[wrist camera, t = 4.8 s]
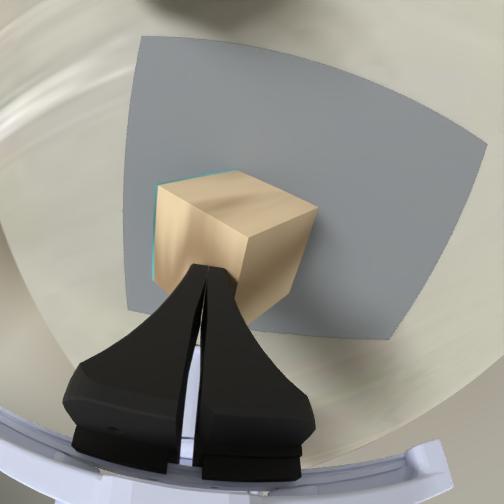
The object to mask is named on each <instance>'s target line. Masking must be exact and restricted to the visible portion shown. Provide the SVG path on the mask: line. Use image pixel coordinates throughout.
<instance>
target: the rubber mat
mask: <svg viewBox="0 0 504 504" xmlns="http://www.w3.org/2000/svg"><path fill="white" fill-rule="evenodd" d="M486 147H487V143H485V142H484V141H482V140H481V139H479V138H478V137H476V136H475V135H473V134H472V133H470V132H469V131H467V130H466V129H464V128H462V127H461V126H459V125H458V124H456V123H454V122H453V121H451V120H449V119H448V118H446V117H444V116H442V115H440V114H439V113H437V112H435V111H433V110H431V109H430V108H428V107H426V106H424V105H422V104H420V103H418V102H416V101H414V100H412V99H410V98H408V97H406V96H404V95H402V94H399V93H397V92H395V91H393V90H391V89H388V88H386V87H384V86H381V85H379V84H377V83H374V82H372V81H369V80H367V79H364V78H362V77H359V76H356V75H354V74H351V73H348V72H345V71H342V70H340V69H337V68H334V67H331V66H327V65H324V64H321V63H318V62H314V61H311V60H307V59H304V58H300V57H296V56H293V55H289V54H285V53H280V52H276V51H272V50H267V49H262V48H257V47H252V46H247V45H241V44H235V43H228V42H221V41H213V40H204V39H194V38H181V37H161V36H142V37H141V42H140V47H139V52H138V57H137V62H136V68H135V74H134V80H133V86H132V93H131V100H130V108H129V117H128V126H127V137H126V149H125V165H124V188H123V243H124V267H125V283H126V295H127V306H128V310H130V311H135V312H140V313H145V314H151V315H152V314H153V313H154V312H155V311H156V310H157V309H158V308H159V307H160V306H161V304H162V303H163V302H164V301H165V300H166V299H167V298H168V297H169V295H168V294H167V293H166V292H165V291H164V290H163V289H162V288H160V287H159V286H158V285H157V284H156V283H155V282H154V281H153V280H152V243H153V218H154V200H155V186H156V184H158V183H163V182H168V181H173V180H178V179H183V178H188V177H193V176H199V175H205V174H210V173H216V172H223V171H229V170H238V171H240V172H243V173H245V174H247V175H250V176H252V177H254V178H256V179H259V180H261V181H263V182H265V183H268V184H270V185H272V186H274V187H277V188H279V189H281V190H283V191H285V192H287V193H290V194H292V195H294V196H296V197H298V198H300V199H302V200H304V201H306V202H309V203H311V204H313V205H315V206H317V207H319V208H318V211H317V214H316V217H315V220H314V223H313V226H312V229H311V232H310V235H309V238H308V241H307V244H306V247H305V250H304V252H303V255H302V258H301V261H300V264H299V267H298V270H297V272H296V275H295V278H294V281H293V283H292V286H291V289H290V292H289V294H287V295H286V296H285V297H284V298H282V299H281V300H280V301H278V302H277V303H276V304H275V305H273V306H272V307H271V308H269V309H268V310H267V311H266V312H264V313H263V314H262V315H260V316H259V317H258V318H256V319H255V320H254V321H252V322H251V323H250V324H248V325H247V326H248V328H249V330H255V331H264V332H273V333H283V334H294V335H305V336H318V337H332V338H349V339H372V340H389V339H390V337H391V336H392V335H393V333H394V332H395V330H396V329H397V327H398V326H399V324H400V323H401V321H402V320H403V318H404V317H405V315H406V314H407V312H408V311H409V309H410V308H411V306H412V305H413V303H414V301H415V300H416V298H417V297H418V295H419V293H420V292H421V290H422V288H423V287H424V285H425V283H426V281H427V280H428V278H429V276H430V274H431V273H432V271H433V269H434V267H435V266H436V264H437V262H438V260H439V258H440V256H441V254H442V252H443V251H444V249H445V247H446V245H447V243H448V241H449V239H450V237H451V235H452V232H453V230H454V228H455V226H456V224H457V222H458V220H459V217H460V215H461V213H462V211H463V208H464V206H465V204H466V201H467V199H468V197H469V194H470V192H471V189H472V187H473V184H474V181H475V179H476V176H477V173H478V171H479V168H480V165H481V162H482V159H483V156H484V153H485V150H486Z"/></svg>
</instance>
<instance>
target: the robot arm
mask: <svg viewBox="0 0 504 504" xmlns="http://www.w3.org/2000/svg"><path fill="white" fill-rule="evenodd" d="M208 267H209V270H208ZM207 274H208V276H207ZM206 281H207V283H206ZM205 288H206V290H205ZM204 295H205V297H204ZM203 303H204V304H203ZM202 310H203V312H202ZM201 317H202V320H201ZM200 324H201V336H200V346H195V345H196V341H197V337H198V333H199V329H200ZM63 405H64V408H65V409H66V411H67V413H68V414H69V415H70V417H71V418H72V420H73V421H74V422H75V424H76V425H77V426H76V429H75V433H74V436H73V438H71V437H68V436H66V435H63V434H60V433H57V432H55V431H53V430H50V429H48V428H46V427H43V426H41V425H39V424H36V423H34V422H32V421H30V420H28V419H25V418H23V417H21V416H19V415H17V414H15V413H13V412H11V411H9V410H7V409H6V408H4V407H2V406H0V471H2V472H3V473H5V474H7V475H8V476H10V477H12V478H14V479H15V480H17V481H19V482H21V483H23V484H25V485H27V486H29V487H30V488H32V489H34V490H37V491H38V492H41V493H43V494H45V495H47V496H49V497H51V498H54V499H56V501H55V504H418V503H420V502H423V501H425V500H428V499H430V498H432V497H435V496H437V495H439V494H441V493H443V492H445V491H447V490H450V489H452V488H453V486H454V485H453V481H452V478H451V474H450V471H449V467H448V464H447V461H446V458H445V454H444V451H443V448H442V445H441V442H440V440H439V439H434V440H430V441H427V442H424V443H420V444H418V445H416V446H413V447H412V448H410V449H409V450H407V451H406V452H405V453H403V454H399V455H395V456H390V457H386V458H382V459H376V460H372V461H366V462H360V463H354V464H347V465H340V466H332V467H323V468H313V469H301V465H300V457H301V456H302V446H301V444H302V443H303V442H304V441H305V440H307V439H308V438H309V437H310V436H311V435H312V433H313V432H314V430H315V429H316V428H315V418H314V414H313V411H312V408H311V405H310V402H309V399H308V397H307V396H306V395H305V394H304V393H303V392H302V391H301V390H300V389H298V388H297V387H296V386H295V385H294V384H293V383H292V382H290V381H289V380H288V379H287V378H286V376H285V375H284V374H283V373H282V372H281V371H280V370H279V369H278V368H277V367H276V366H275V364H274V363H273V362H272V361H271V359H270V358H269V357H268V356H267V355H266V353H265V352H264V351H263V349H262V348H261V347H260V345H259V344H258V342H257V341H256V339H255V338H254V336H253V335H252V333H251V331H250V330H249V328H248V326H247V324H246V323H245V321H244V319H243V317H242V315H241V313H240V310H239V308H238V306H237V304H236V301H235V299H234V296H233V293H232V291H231V287H230V284H229V281H228V276H227V271H226V270H225V268H220V267H214V266H207V265H201V264H195V263H193V264H192V265H190V267H189V269H188V271H187V273H186V274H185V276H184V277H183V279H182V280H181V281H180V283H179V284H178V285H177V287H176V288H175V289H174V291H173V292H172V293H171V294H170V295H169V297H168V298H167V299H166V300H165V301H164V302H163V303H162V304H161V306H160V307H159V308H158V309H157V310H156V311H155V312H154V313H153V314H152V315H151V316H150V317H148V318H147V319H146V320H145V321H144V322H143V323H142V324H141V325H139V326H138V327H137V328H136V329H134V330H133V331H132V332H131V333H129V334H128V335H127V336H125V337H124V338H123V339H121V340H119V341H118V342H116V343H115V344H113V345H112V346H110V347H109V348H107V349H106V350H104V351H102V352H101V353H99V354H97V355H95V356H93V357H91V358H89V359H87V360H85V361H84V362H81V363H80V364H79V365H78V367H77V369H76V370H75V372H74V374H73V376H72V377H71V379H70V381H69V384H68V387H67V389H66V392H65V395H64V398H63ZM95 467H97V468H100V469H103V470H107V471H110V472H114V473H117V474H101V473H100V471H99V469H97V468H95ZM118 474H121V475H118ZM122 475H125V476H122ZM263 491H270V492H269V493H268V496H263Z"/></svg>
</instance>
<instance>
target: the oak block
mask: <svg viewBox="0 0 504 504" xmlns="http://www.w3.org/2000/svg"><path fill="white" fill-rule="evenodd" d="M318 208H319V207H317V206H315V205H313V204H311V203H309V202H306V201H304V200H302V199H300V198H298V197H296V196H294V195H292V194H290V193H287V192H285V191H283V190H281V189H279V188H277V187H274V186H272V185H270V184H268V183H265V182H263V181H261V180H259V179H256V178H254V177H252V176H250V175H247V174H245V173H243V172H240V171H238V170H229V171H223V172H216V173H210V174H205V175H199V176H193V177H188V178H183V179H178V180H173V181H168V182H163V183H158V184H156V186H155V200H154V218H153V243H152V280H153V281H154V282H155V283H156V284H157V285H158V286H159V287H160V288H162V289H163V290H164V291H165V292H166V293H167V294H168V295H170V294H171V293H172V292H173V291H174V289H175V288H176V287H177V285H178V284H179V283H180V281H181V280H182V279H183V277H184V276H185V274H186V273H187V271H188V269H189V267H190V265H192V264H193V263H195V264H201V265H207V266H214V267H220V268H225V270H226V271H227V276H228V281H229V284H230V287H231V291H232V293H233V296H234V299H235V301H236V304H237V306H238V308H239V310H240V313H241V315H242V317H243V319H244V321H245V323H246V324H247V325H248V324H250V323H251V322H252V321H254V320H255V319H256V318H258V317H259V316H260V315H262V314H263V313H264V312H266V311H267V310H268V309H269V308H271V307H272V306H273V305H275V304H276V303H277V302H278V301H280V300H281V299H282V298H284V297H285V296H286V295H287V294H289V292H290V289H291V286H292V283H293V281H294V278H295V275H296V272H297V270H298V267H299V264H300V261H301V258H302V255H303V252H304V250H305V247H306V244H307V241H308V238H309V235H310V232H311V229H312V226H313V223H314V220H315V217H316V214H317V211H318ZM208 270H209V267H208ZM207 276H208V274H207ZM206 283H207V281H206ZM205 290H206V288H205ZM204 297H205V295H204ZM203 304H204V303H203ZM202 312H203V310H202ZM201 320H202V317H201Z"/></svg>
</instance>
